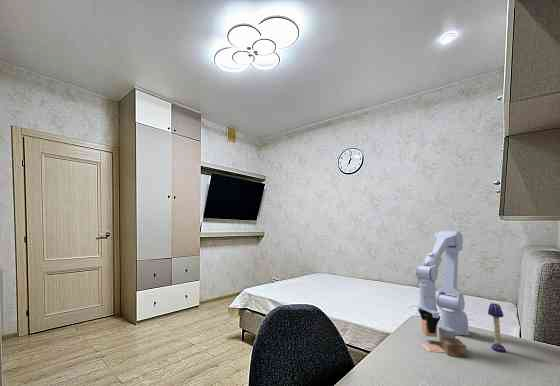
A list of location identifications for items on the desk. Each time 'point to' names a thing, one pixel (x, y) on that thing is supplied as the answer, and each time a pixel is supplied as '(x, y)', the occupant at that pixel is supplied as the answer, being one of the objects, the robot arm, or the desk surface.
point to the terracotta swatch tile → (433, 348)
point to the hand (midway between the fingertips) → (429, 330)
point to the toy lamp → (496, 326)
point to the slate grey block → (446, 333)
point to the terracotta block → (425, 329)
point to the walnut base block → (453, 347)
